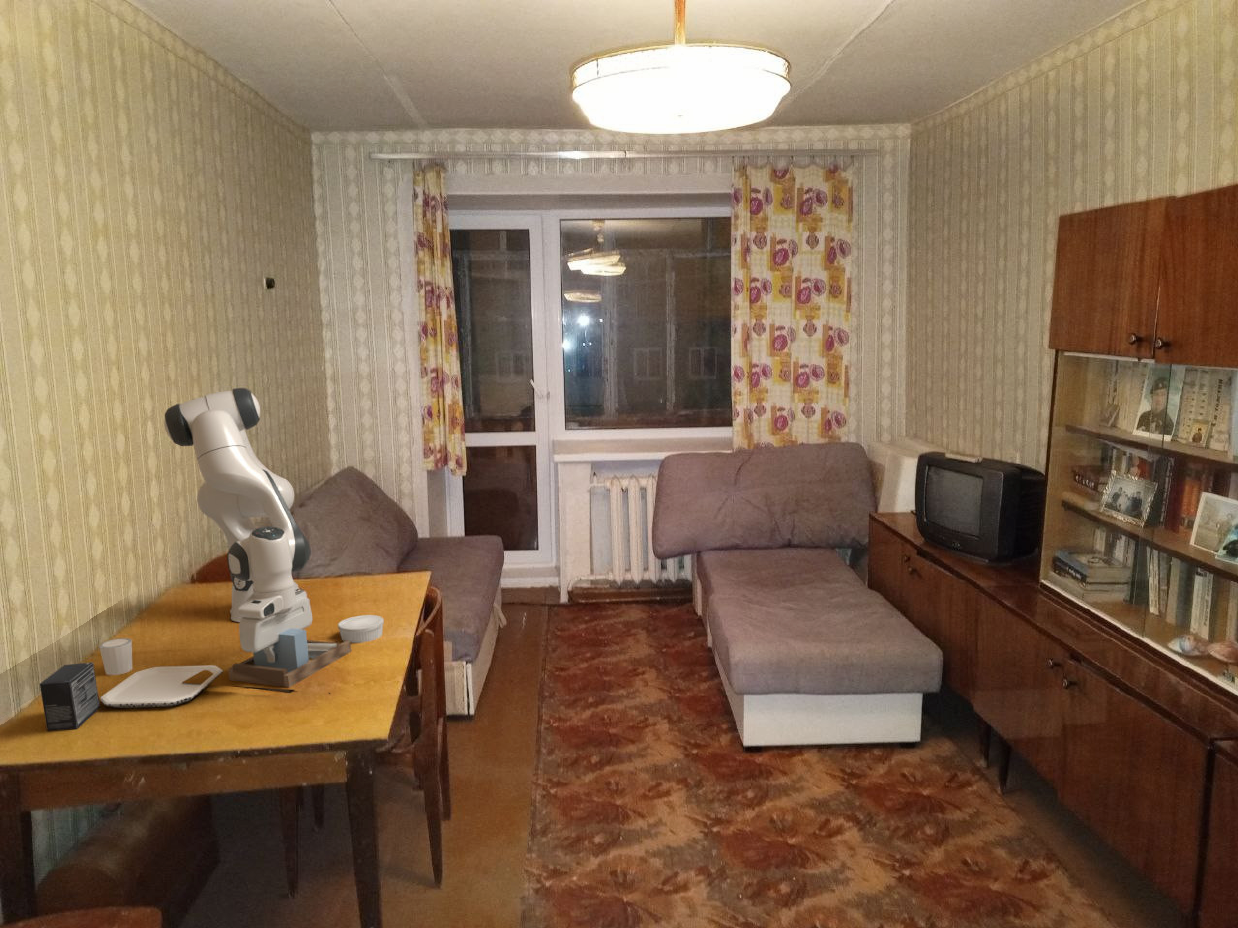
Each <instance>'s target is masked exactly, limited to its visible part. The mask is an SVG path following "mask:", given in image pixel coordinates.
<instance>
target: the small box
mask: <svg viewBox="0 0 1238 928" xmlns="http://www.w3.org/2000/svg"><path fill="white" fill-rule="evenodd" d="M94 665H95V664H94V662H84V663H83V662H82V663H81V662H80V663H70V664H64V665H62V666H61V667H60V668H59V669H57V670H56V671H55V672H53V673H52V674H51V675H49V676H48V677H47V678H45V679H44V680H43V681H42V682H40V683H39V688H40V694H41V700H42V706H43V707H42V708H43V712H44V713H43V714H44V718H45V719H44V720H45V726H46V727H45V728H46V731H47V732H51V731H52V732H53V731H66V730H67V731H68V730H77V729H79V728H80V727H81V726H82V725H84V724H85V722H86V721H87V720H89V719H90V718H91V717H92V716H93V715H94V714H95V713H97V712H98V711H99V709H101V704H100V702H101V701H100V697H99V693H98V692H99V691H98V685H97V679H96V672H95V666H94Z"/></svg>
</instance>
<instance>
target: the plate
mask: <svg viewBox="0 0 1238 928" xmlns="http://www.w3.org/2000/svg"><path fill="white" fill-rule="evenodd" d="M203 671H208V672H209V673H212V675H210V676H209V677H208V678H207V679H206V680H205V681H203V682H202V683H193V682H192V683H191V682H185V681H187V680H189V679H190V678H192V677H194V676H195V675H197V674H199V673H200V672H203ZM223 672H224V671H223V670H222V668H220V667H218V666H216V665H215V664H214V665H211V664H210V665H182V666H181V665H176V666H153V667H151V668H146V669H143V670H138V671H136V672H134V673H133V674H131V675H130V676H128V677H127V678H126V679H124V680H123V681H122V682H120V683H118V684H117V685H116V686H114V687H113V688H111V689H110V690H108V691H107V692H106V693H104V694H103V695H102V696H100V697H99V702H101V703H102V704H103V705H104V706H106V707H107V706H108V707H110V708H111V707H112V708H115V709H117V708H118V709H122V708H123V709H124V708H127V709H128V708H132V709H133V708H163V707H164V708H167V707H169V708H170V707H174V706H177V705H181V704H185V703H187V702H190V701H191V700H193V699H194V698H195V697H196V696H198V695H199V693H201V692H202V691H203V690H204V689H205V688H207V687H209V685H210V684H211V683H212V682H213V681H215V679H216V678H218V677H219V676H220V675H221V674H222V673H223Z"/></svg>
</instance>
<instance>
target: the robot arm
mask: <svg viewBox="0 0 1238 928" xmlns="http://www.w3.org/2000/svg"><path fill="white" fill-rule="evenodd" d="M260 417H261V406H260V403H259V400H258V399H257V397H256V396H255V395H254V394H253V392H252V391H251V390H249V389H248V388H246V387H237V388H233V389H231V390H223V391H217V392H213V393H209V394H205V395H202V396H200V397H197V398H194V399H191V400H187V401H185V402H183V403H181V404H180V403H176V404H175V405H172V406H170V407H169V408H167V409H166V411H165V413H164V420H163V423H164V430H165V432H166V434H167V435H168V437H169V439H171V440H172V441H173V443H174V444H175V445H177V446H180V447H191V446H192V447H193V449H194V453H195V457H196V460H197V464H198V467H199V470H200V473H201V475H202V477H203V479H204V481H205V482H203V483H202V484H201V485H200V487H199V489H198V492H197V496H196V499H197V500H196V501H197V505H198V508H199V510H200V511H201V513H203V514H204V515H205V516H206V517H208V518H209V519H211V520H212V521H214V523H216V524H217V526H218V527H219V528H220V529H221V531H222V532H223V535H224V536H225V539H226V541H227V544H228V549H229V550H228V552H227V553H226V554H227V555H226V558H227V559H226V560H227V567H228V572H229V573H230V579H231V583H232V585H231V608H230V610H229V613H230V619H231V621H233V622H236V623H238V632H239V633H238V635H239V642H240V647H241V649H242V650H243V651H244V652H245V653H252V654H253V653H256V652H258V651H260V650H263V651H264V652H265V654H266V655H267V661H268V662H269V663H274V662H275V661H277V660H278V654H277V653H274V652H273V650H272V649H273V648H274V643H276V642H278V641H279V634H281V633H283V632H285V631H287V630H289V629H301V630H305V629H306V628H308V627H310V626H311V625H312V622H313V614H312V609H311V608H312V607H311V603H310V602H311V600H310V598H308V595H307V592H306V590H305V589H302V588H301V587H299V585H298V583H297V582H295V581H294V579H293V576H292V575H293V574H292V573H298V572H301V571H302V570H303V569H304V567H306V565H307V564H308V562H309V561H310V558H311V555H312V554H311V553H312V551H311V546H310V542H309V541H308V538H307V537H306V536H305V534H304V533H303V531H302V530H301V529H300V527H299V525H298V524H297V522H296V520H295V518H294V516H293V515H292V512H291V508H292V507H293V504H294V502H295V490H294V487H293V486H292V484H291V482H289V480H288V479H286V478H284V477H282V476H279V475H278V474H276V473H275V472H273V471H271V470H270V469H268V468H267V467H266V466H265V465H264V464H263V463H262V461H260V460H259V458H258V457H257V455H256V454H255V452H254V449H253V447H252V445H251V443H250V440H249V437H248V435H247V432H246V431H247V430H250V429H252V428H254V427H256V426H257V425H258V424H259V422H260V420H261V418H260ZM257 517H259V518H260V517H262V518H263V517H267V518H268V520H269V522H270V524H271V526H262V527H261V526H260V527H258V526H257V525H255V523H254V522H253V521H252V518H257Z"/></svg>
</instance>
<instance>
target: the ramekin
mask: <svg viewBox="0 0 1238 928" xmlns="http://www.w3.org/2000/svg"><path fill="white" fill-rule="evenodd" d="M384 621H385V620H384V618H383V617H382V616H380V615H376V614H375V615H374V614H365V615H363V614H362V615H357V616H351V617H348V618H346V619H343V620H341V621H340V622H338V624H337V629H338V630H339V635H340V638H341V640H342V641H343V642H345V641H350V642H351V644H352V643H353V644H361V643H367V642H371V641H374V640H376V639H379V638H380V637H382V636H383V628H384V623H385V622H384Z"/></svg>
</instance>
